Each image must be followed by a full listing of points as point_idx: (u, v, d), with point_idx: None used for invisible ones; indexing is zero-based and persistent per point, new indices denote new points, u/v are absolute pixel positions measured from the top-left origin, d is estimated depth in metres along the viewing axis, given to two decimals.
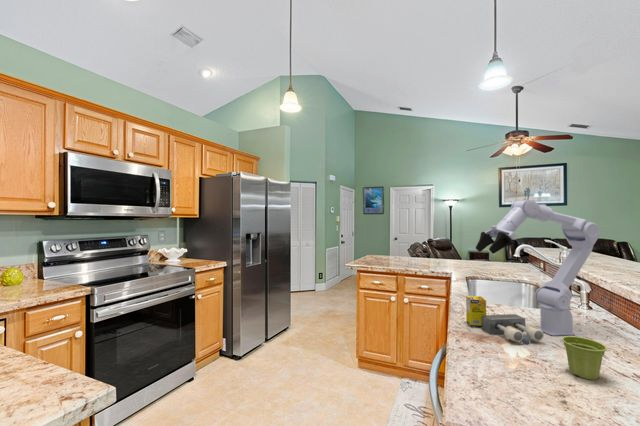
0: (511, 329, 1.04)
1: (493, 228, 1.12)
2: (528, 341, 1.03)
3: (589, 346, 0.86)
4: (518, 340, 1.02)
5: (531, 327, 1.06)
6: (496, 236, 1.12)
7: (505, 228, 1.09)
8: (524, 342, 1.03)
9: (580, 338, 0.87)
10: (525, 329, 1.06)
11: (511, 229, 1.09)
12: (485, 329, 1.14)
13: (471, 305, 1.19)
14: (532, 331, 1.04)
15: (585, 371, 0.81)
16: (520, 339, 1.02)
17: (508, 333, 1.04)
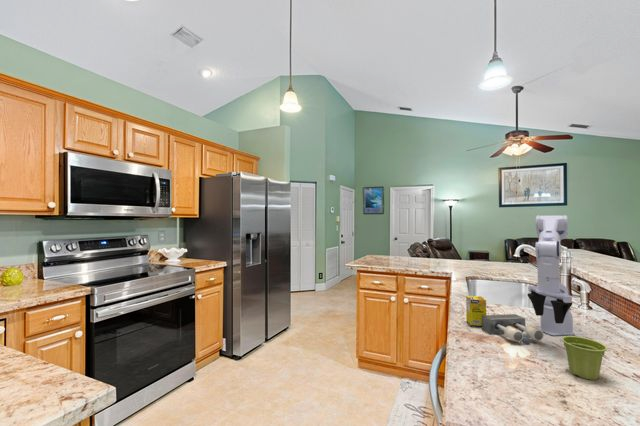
0: (511, 329, 1.04)
1: (539, 293, 0.99)
2: (528, 341, 1.03)
3: (589, 346, 0.86)
4: (518, 340, 1.02)
5: (531, 327, 1.06)
6: (547, 296, 0.99)
7: (551, 288, 0.96)
8: (524, 342, 1.03)
9: (580, 338, 0.87)
10: (525, 329, 1.06)
11: (557, 284, 0.96)
12: (485, 329, 1.14)
13: (471, 305, 1.19)
14: (532, 331, 1.04)
15: (585, 371, 0.81)
16: (520, 339, 1.02)
17: (508, 333, 1.04)
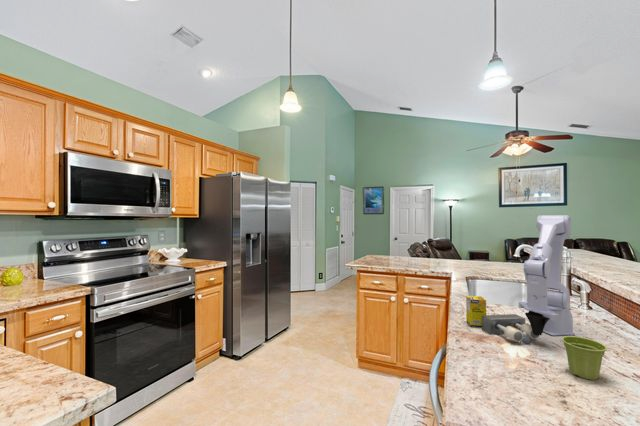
0: (511, 329, 1.04)
1: None
2: (528, 341, 1.03)
3: (589, 346, 0.86)
4: (518, 340, 1.02)
5: (528, 325, 1.07)
6: (536, 313, 1.04)
7: (539, 306, 1.01)
8: (524, 342, 1.03)
9: (580, 338, 0.87)
10: (522, 327, 1.08)
11: (545, 302, 1.01)
12: (485, 329, 1.14)
13: (471, 305, 1.19)
14: (528, 330, 1.05)
15: (585, 371, 0.81)
16: (520, 339, 1.02)
17: (508, 333, 1.04)
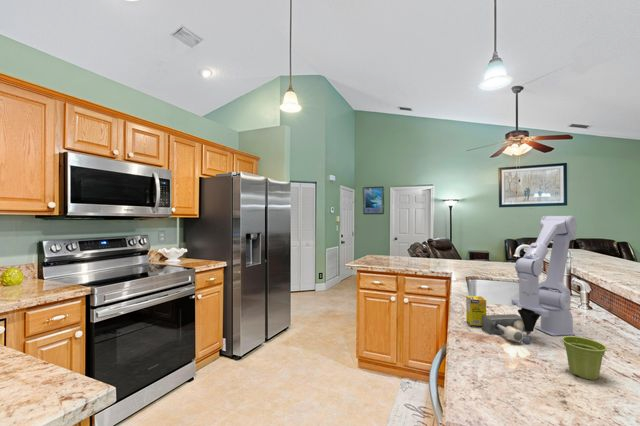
0: (511, 329, 1.04)
1: None
2: (528, 341, 1.03)
3: (589, 346, 0.86)
4: (518, 340, 1.02)
5: (520, 322, 1.11)
6: (528, 309, 1.07)
7: (531, 303, 1.05)
8: (524, 342, 1.03)
9: (580, 338, 0.87)
10: (514, 324, 1.11)
11: (536, 299, 1.05)
12: (485, 329, 1.14)
13: (471, 305, 1.19)
14: (520, 326, 1.09)
15: (585, 371, 0.81)
16: (520, 339, 1.02)
17: (508, 333, 1.04)
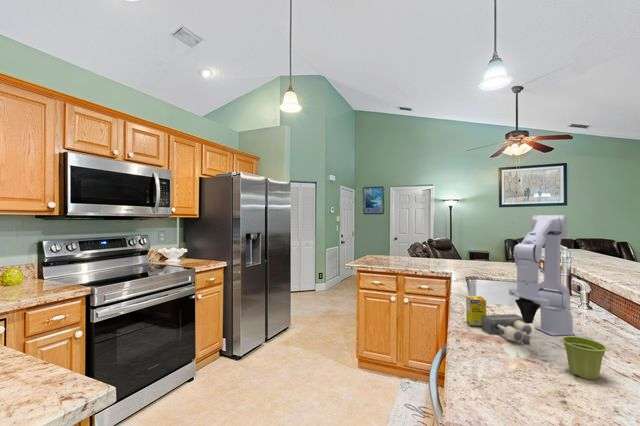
0: (511, 329, 1.04)
1: (518, 296, 0.98)
2: (528, 341, 1.03)
3: (589, 346, 0.86)
4: (518, 340, 1.02)
5: (520, 321, 1.11)
6: None
7: (530, 292, 0.96)
8: (524, 342, 1.03)
9: (580, 338, 0.87)
10: (514, 324, 1.12)
11: (535, 288, 0.95)
12: (485, 329, 1.14)
13: (471, 305, 1.19)
14: (520, 326, 1.09)
15: (585, 371, 0.81)
16: (520, 339, 1.02)
17: (508, 333, 1.04)
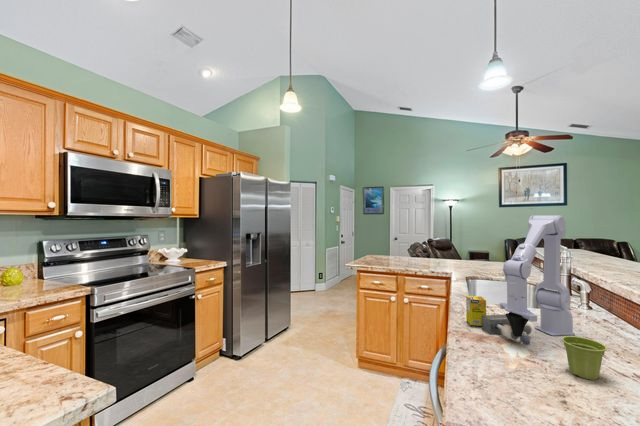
0: (508, 327, 1.05)
1: None
2: (528, 341, 1.03)
3: (589, 346, 0.86)
4: (515, 338, 1.04)
5: None
6: (516, 314, 1.03)
7: (519, 307, 1.00)
8: (524, 342, 1.03)
9: (580, 338, 0.87)
10: None
11: (524, 303, 1.00)
12: (485, 329, 1.14)
13: (471, 305, 1.19)
14: None
15: (585, 371, 0.81)
16: (517, 337, 1.04)
17: (505, 332, 1.05)
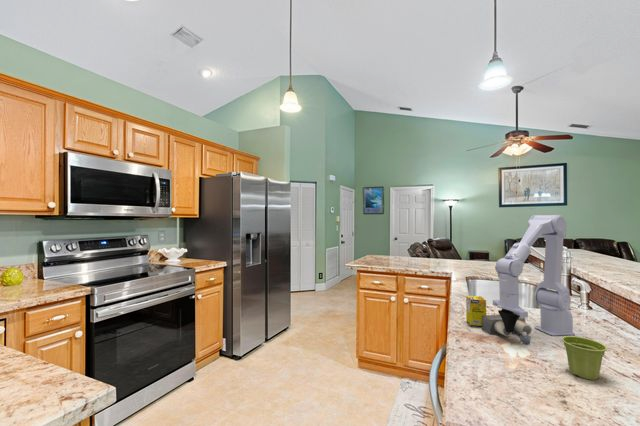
0: (501, 324, 1.09)
1: (500, 307, 1.06)
2: (528, 341, 1.03)
3: (589, 346, 0.86)
4: (507, 334, 1.07)
5: (520, 321, 1.11)
6: None
7: (510, 304, 1.04)
8: (524, 342, 1.03)
9: (580, 338, 0.87)
10: None
11: (516, 300, 1.04)
12: (485, 329, 1.14)
13: (471, 305, 1.19)
14: (520, 326, 1.09)
15: (585, 371, 0.81)
16: (509, 333, 1.07)
17: (498, 328, 1.09)
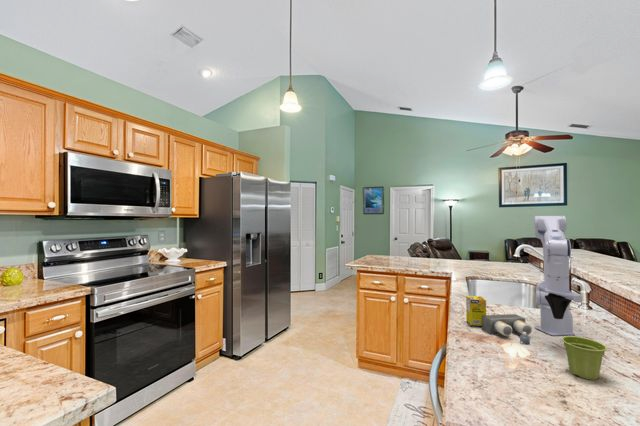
0: (501, 324, 1.09)
1: None
2: (528, 341, 1.03)
3: (589, 346, 0.86)
4: (507, 334, 1.07)
5: (520, 321, 1.11)
6: (556, 295, 0.98)
7: (561, 288, 0.96)
8: (524, 342, 1.03)
9: (580, 338, 0.87)
10: (514, 324, 1.12)
11: (566, 284, 0.96)
12: (485, 329, 1.14)
13: (471, 305, 1.19)
14: (520, 326, 1.09)
15: (585, 371, 0.81)
16: (509, 333, 1.07)
17: (498, 328, 1.09)
